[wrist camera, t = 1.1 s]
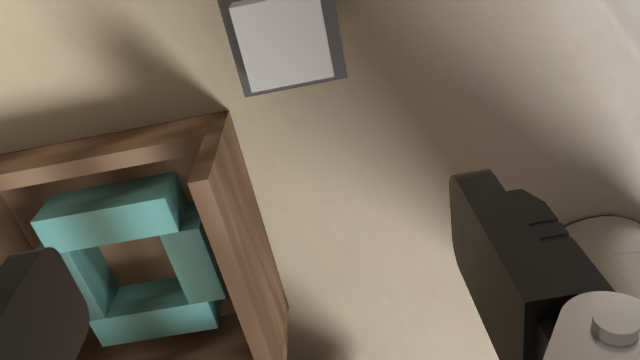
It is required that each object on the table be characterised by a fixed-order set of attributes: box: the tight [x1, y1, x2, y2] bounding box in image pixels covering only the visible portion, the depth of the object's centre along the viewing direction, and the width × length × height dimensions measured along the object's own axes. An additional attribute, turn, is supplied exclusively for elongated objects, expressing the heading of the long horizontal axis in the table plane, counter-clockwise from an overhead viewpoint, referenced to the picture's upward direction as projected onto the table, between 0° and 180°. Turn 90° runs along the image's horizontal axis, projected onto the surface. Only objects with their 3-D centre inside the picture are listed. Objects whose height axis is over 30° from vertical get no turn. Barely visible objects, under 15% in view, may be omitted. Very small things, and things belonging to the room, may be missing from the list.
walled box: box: [0, 111, 288, 360], centre depth 32 cm, size 16×16×8 cm
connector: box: [218, 0, 347, 97], centre depth 24 cm, size 4×4×10 cm
